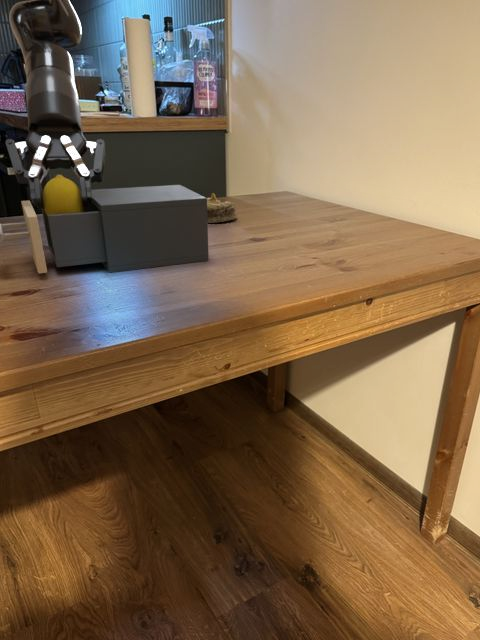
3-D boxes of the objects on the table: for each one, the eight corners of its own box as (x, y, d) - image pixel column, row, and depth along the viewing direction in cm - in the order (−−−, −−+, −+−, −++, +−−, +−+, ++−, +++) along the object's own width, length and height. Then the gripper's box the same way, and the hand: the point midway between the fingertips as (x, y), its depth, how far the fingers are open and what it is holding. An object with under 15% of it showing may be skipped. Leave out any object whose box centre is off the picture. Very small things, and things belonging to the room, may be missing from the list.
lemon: (75, 236, 72) (66, 178, 68) (40, 233, 73) (29, 176, 69) (93, 227, 77) (86, 172, 73) (60, 225, 77) (51, 171, 74)
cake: (213, 229, 101) (211, 202, 98) (181, 221, 106) (178, 195, 104) (247, 217, 107) (245, 191, 104) (214, 210, 113) (212, 186, 110)
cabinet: (108, 273, 74) (100, 205, 69) (92, 250, 84) (84, 190, 79) (208, 260, 80) (207, 198, 76) (182, 240, 90) (179, 184, 86)
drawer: (1, 278, 68) (-13, 219, 64) (-2, 255, 77) (-14, 203, 73) (141, 261, 76) (136, 208, 72) (123, 242, 85) (118, 194, 81)
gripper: (-5, 87, 70) (0, 190, 66) (101, 90, 74) (113, 187, 70) (8, 126, 77) (14, 221, 73) (104, 126, 81) (116, 217, 77)
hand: (62, 204), depth 71 cm, fingers closed on lemon, 5 cm apart
